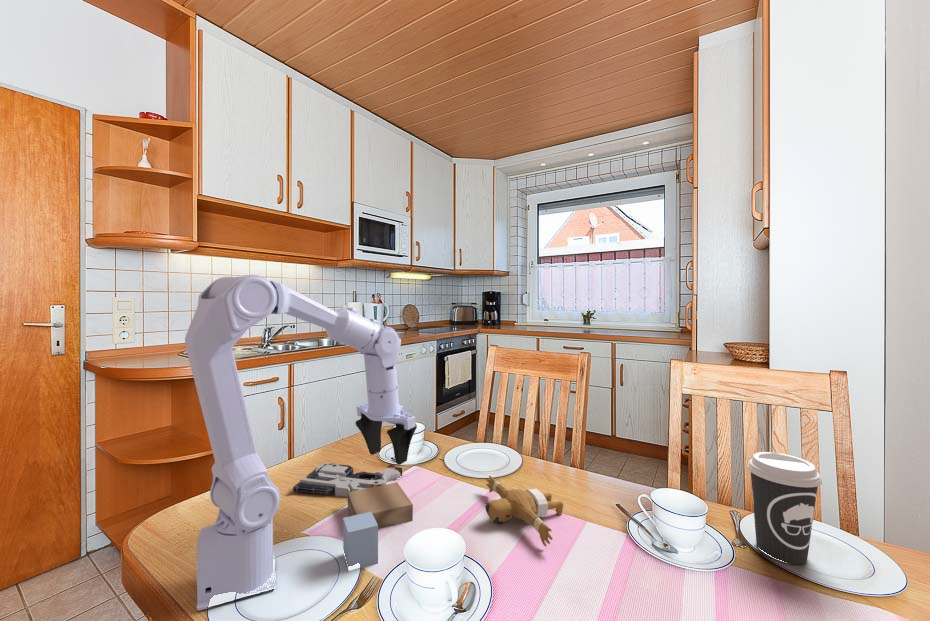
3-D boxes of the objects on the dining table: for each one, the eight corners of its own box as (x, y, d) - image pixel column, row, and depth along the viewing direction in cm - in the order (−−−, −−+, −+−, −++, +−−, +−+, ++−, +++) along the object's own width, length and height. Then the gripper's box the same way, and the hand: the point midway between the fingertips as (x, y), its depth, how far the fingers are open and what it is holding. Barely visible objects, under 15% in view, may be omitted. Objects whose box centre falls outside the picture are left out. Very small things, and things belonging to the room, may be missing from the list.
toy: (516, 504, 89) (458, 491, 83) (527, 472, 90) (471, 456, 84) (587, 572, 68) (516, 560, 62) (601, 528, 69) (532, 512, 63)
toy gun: (405, 475, 96) (380, 508, 81) (329, 465, 99) (292, 496, 85) (405, 463, 95) (380, 494, 81) (329, 454, 99) (292, 483, 84)
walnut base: (357, 533, 70) (357, 516, 70) (347, 507, 79) (347, 492, 79) (412, 520, 75) (412, 504, 75) (397, 496, 84) (397, 482, 84)
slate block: (348, 571, 61) (348, 532, 60) (343, 554, 65) (343, 517, 64) (378, 563, 63) (378, 525, 62) (371, 547, 67) (371, 511, 66)
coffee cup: (820, 550, 66) (822, 460, 66) (819, 580, 59) (822, 479, 59) (749, 528, 72) (751, 445, 72) (741, 553, 65) (743, 461, 65)
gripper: (424, 388, 75) (430, 458, 76) (374, 378, 84) (379, 441, 85) (396, 399, 69) (402, 474, 71) (345, 387, 78) (351, 454, 80)
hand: (388, 457), depth 78 cm, fingers open, 7 cm apart
